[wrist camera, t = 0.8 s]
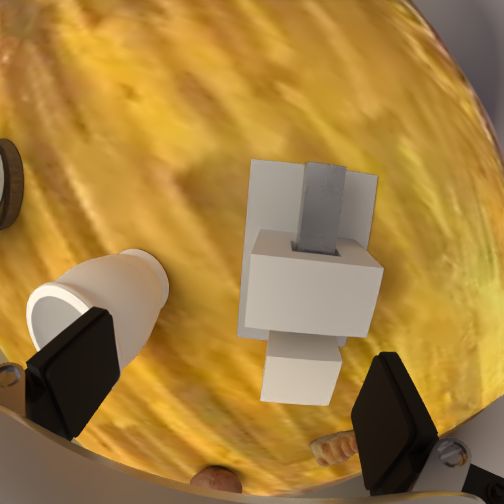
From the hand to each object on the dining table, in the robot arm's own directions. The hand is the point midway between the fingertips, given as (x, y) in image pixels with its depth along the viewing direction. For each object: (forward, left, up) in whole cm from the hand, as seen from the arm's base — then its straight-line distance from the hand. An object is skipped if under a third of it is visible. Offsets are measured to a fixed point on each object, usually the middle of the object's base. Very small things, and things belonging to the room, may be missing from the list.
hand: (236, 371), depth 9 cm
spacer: (+9, +4, -15) cm, 18 cm away
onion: (+45, -4, -23) cm, 51 cm away
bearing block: (+2, +4, -22) cm, 23 cm away
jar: (+7, -15, -23) cm, 28 cm away
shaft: (+2, +4, -18) cm, 19 cm away
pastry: (+32, +15, -23) cm, 42 cm away
